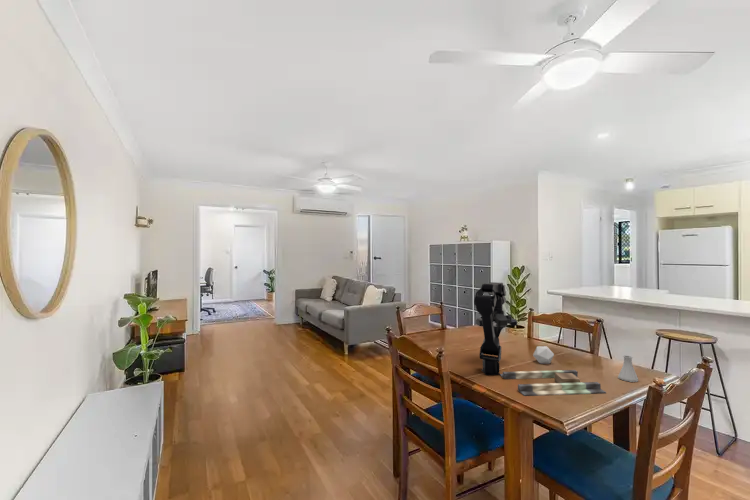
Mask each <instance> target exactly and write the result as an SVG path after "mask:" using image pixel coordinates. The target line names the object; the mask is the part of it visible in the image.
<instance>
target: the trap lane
mask: <svg viewBox="0 0 750 500" xmlns="http://www.w3.org/2000/svg"><path fill="white" fill-rule="evenodd" d="M555 373H572V374H574V375H575V376H576V377H578V371H577V370H576V369H565V370H564V369H563V370H561V369H560V370H559V369H557V370H522V371H520V370H519V371H502V373H500V375H499V376H501V378H502V379H504V380H524V379H525V380H527V379H555ZM578 378H579V377H578ZM601 387H602V386H601V383H599V382H598V381H589V382H587V381H586V382H582V381H580V382H578V383H556V382H553V383H550V382H548V383H547V382H546V383H523V384H522V383H519V384H517V391H518V392H519V393H520V394H521V395H522V396H525V397H527V396H528V397H531V396H532V397H535V396H561V395H565V396H566V395H591V394H593V395H594V394H596V395H597V394H606V393H607V391H605V390H603V389H602V388H601Z"/></svg>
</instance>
